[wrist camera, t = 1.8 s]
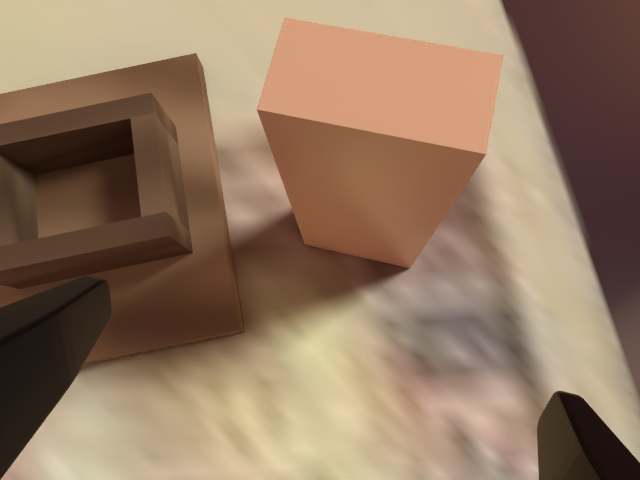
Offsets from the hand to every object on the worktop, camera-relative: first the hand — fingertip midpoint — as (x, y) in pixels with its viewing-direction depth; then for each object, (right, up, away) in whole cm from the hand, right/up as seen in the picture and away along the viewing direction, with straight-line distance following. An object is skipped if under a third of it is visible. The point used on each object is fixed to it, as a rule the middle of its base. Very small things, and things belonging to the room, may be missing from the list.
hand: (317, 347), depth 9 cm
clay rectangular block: (+2, +3, +13) cm, 14 cm away
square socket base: (-10, +3, +14) cm, 18 cm away
